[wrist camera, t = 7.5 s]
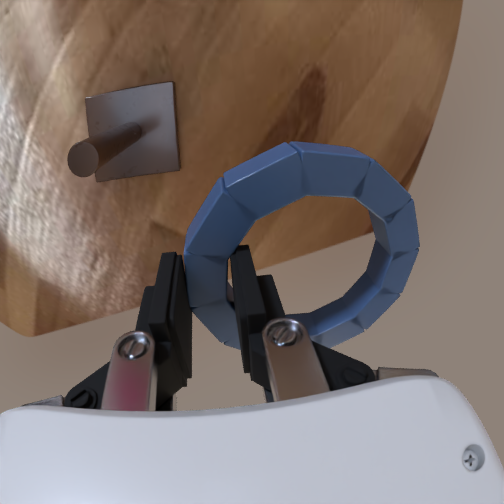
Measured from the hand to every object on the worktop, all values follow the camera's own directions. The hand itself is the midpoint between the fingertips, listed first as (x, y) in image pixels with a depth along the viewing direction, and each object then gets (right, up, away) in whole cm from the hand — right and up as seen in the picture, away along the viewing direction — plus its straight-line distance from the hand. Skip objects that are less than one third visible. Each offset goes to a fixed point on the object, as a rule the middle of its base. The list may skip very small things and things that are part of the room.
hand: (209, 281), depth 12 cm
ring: (+4, +1, +1) cm, 4 cm away
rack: (-10, +13, +14) cm, 22 cm away
